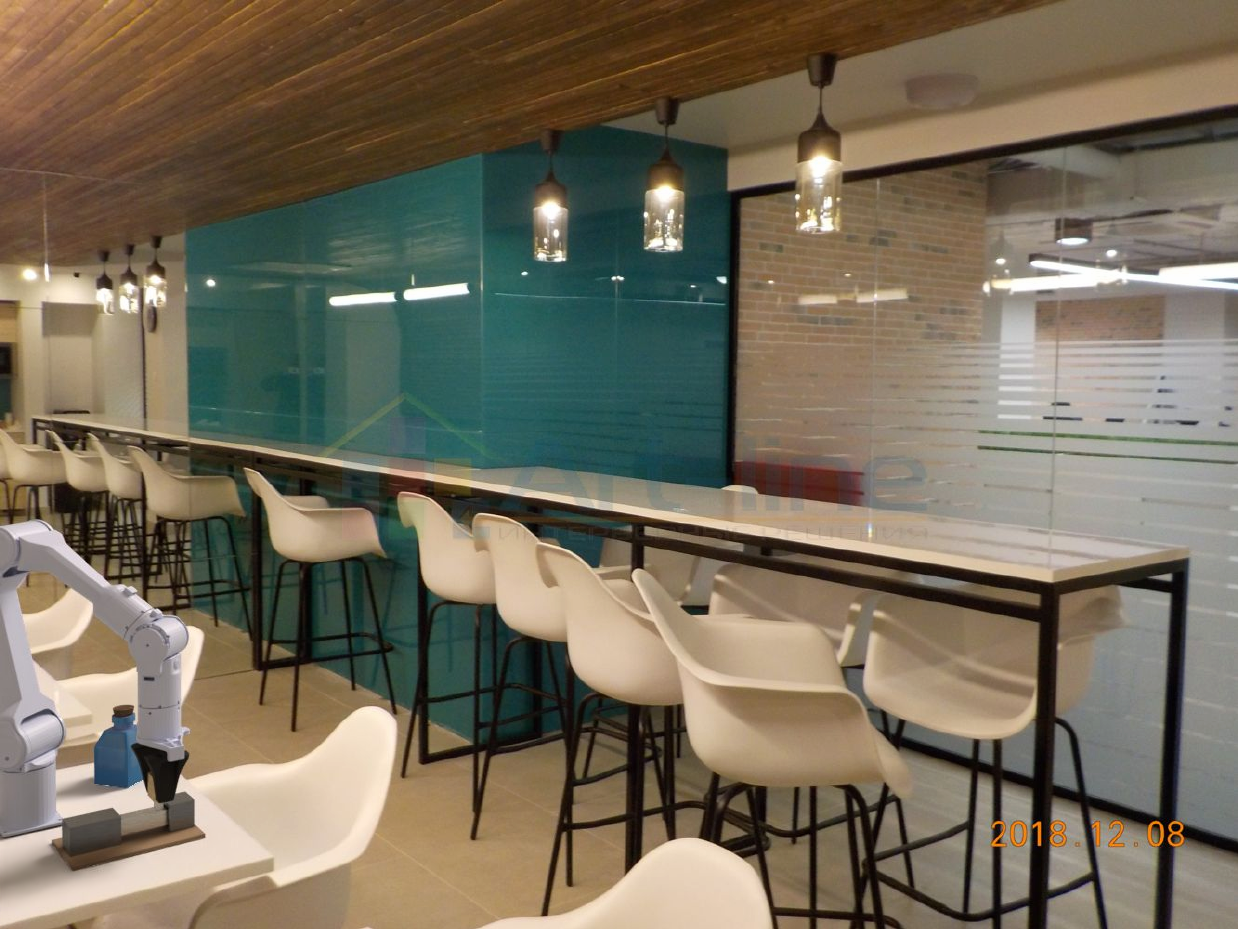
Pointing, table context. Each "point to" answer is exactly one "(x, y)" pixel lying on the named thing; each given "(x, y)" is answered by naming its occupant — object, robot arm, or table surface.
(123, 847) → the walnut board
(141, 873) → the table surface
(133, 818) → the pale bar
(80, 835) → the sleeve and socket
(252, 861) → the table surface
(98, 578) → the robot arm
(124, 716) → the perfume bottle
